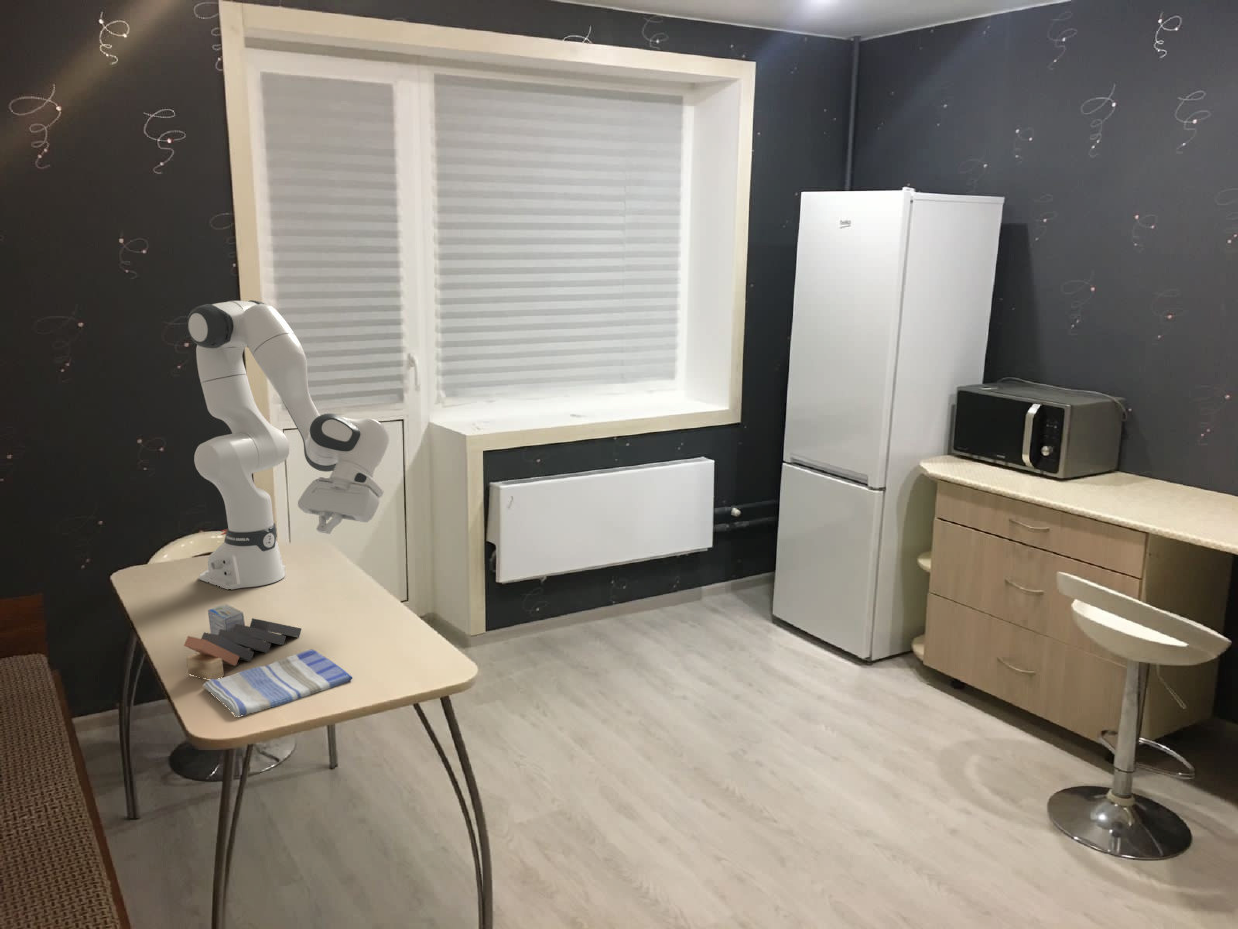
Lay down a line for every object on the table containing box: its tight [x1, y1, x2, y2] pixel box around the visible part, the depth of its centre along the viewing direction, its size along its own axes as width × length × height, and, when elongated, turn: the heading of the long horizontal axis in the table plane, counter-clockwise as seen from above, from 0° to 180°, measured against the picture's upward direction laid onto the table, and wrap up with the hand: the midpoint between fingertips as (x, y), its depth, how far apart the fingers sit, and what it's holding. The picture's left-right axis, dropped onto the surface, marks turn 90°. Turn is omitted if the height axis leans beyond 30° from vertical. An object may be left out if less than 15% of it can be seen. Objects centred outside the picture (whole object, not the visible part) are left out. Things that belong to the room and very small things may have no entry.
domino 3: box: [218, 629, 272, 654], centre depth 202 cm, size 5×2×10 cm
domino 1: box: [183, 635, 240, 667], centre depth 195 cm, size 5×2×10 cm
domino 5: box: [249, 618, 302, 638], centre depth 210 cm, size 5×2×10 cm
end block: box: [186, 652, 225, 679], centre depth 193 cm, size 7×2×4 cm, turn 64°
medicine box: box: [207, 604, 249, 650], centre depth 207 cm, size 8×4×9 cm, turn 47°
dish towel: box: [202, 649, 353, 717], centre depth 189 cm, size 17×24×3 cm
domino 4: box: [233, 624, 287, 646], centre depth 206 cm, size 5×2×10 cm
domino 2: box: [200, 631, 255, 662], centre depth 198 cm, size 5×2×10 cm
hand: (322, 532), depth 220 cm, fingers closed
